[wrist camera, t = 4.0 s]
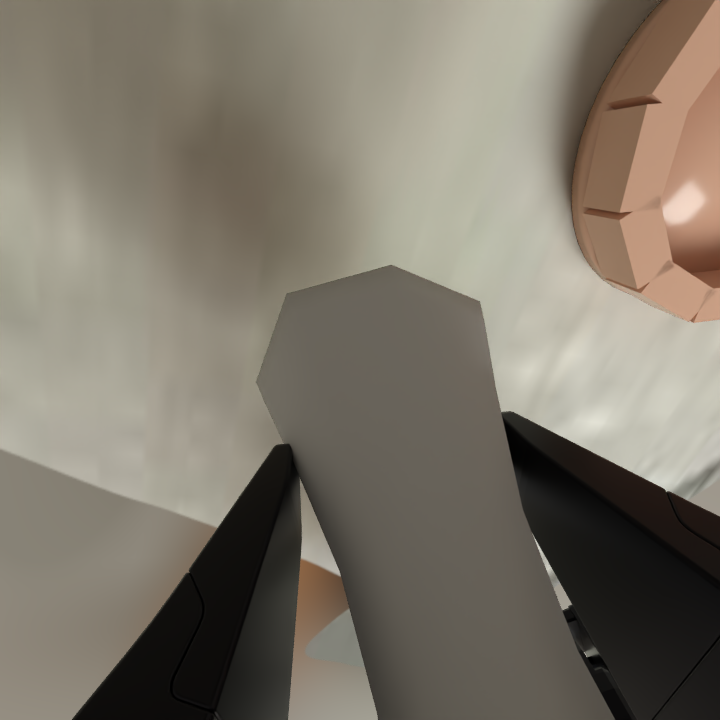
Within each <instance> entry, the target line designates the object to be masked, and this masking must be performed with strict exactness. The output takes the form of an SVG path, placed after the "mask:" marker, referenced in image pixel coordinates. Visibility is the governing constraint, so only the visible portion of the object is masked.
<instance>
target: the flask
mask: <svg viewBox="0 0 720 720" xmlns="http://www.w3.org/2000/svg"><path fill="white" fill-rule="evenodd" d="M256 383H257V385H258V387H259V390H260V392H261V394H262V397H263V399H264V401H265V404H266V406H267V408H268V410H269V412H270V414H271V417H272V419H273V421H274V423H275V425H276V427H277V430H278V432H279V434H280V436H281V438H282V440H283V443H284V444H286V443H288V444H290V446H291V448H292V456H293V462H294V464H295V467H296V469H297V471H298V474H299V477H300V479H301V481H302V483H303V486H304V488H305V490H306V493H307V495H308V497H309V500H310V502H311V504H312V507H313V509H314V512H315V514H316V516H317V519H318V521H319V523H320V526H321V528H322V530H323V533H324V535H325V538H326V540H327V542H328V545H329V547H330V549H331V552H332V554H333V556H334V559H335V561H336V564H337V566H338V568H339V571H340V574H341V578H342V581H343V585H344V589H345V593H346V597H347V601H348V604H349V608H350V612H351V616H352V620H353V623H354V627H355V631H356V635H357V639H358V642H359V646H360V650H361V654H362V658H363V661H364V665H365V669H366V672H367V676H368V680H369V684H370V688H371V692H372V695H373V699H374V703H375V707H376V711H377V715H378V720H615V718H614V717H613V715H612V713H611V711H610V709H609V707H608V706H607V704H606V702H605V700H604V698H603V696H602V694H601V693H600V691H599V689H598V687H597V685H596V683H595V682H594V680H593V678H592V676H591V674H590V672H589V670H588V669H587V667H586V665H585V663H584V661H583V659H582V657H581V656H580V654H579V652H578V650H577V647H576V645H575V642H574V640H573V637H572V634H571V632H570V629H569V627H568V624H567V622H566V619H565V617H564V614H563V611H562V609H561V606H560V604H559V601H558V599H557V596H556V594H555V591H554V588H553V586H552V583H551V581H550V578H549V576H548V573H547V570H546V568H545V565H544V563H543V560H542V558H541V555H540V553H539V550H538V547H537V545H536V542H535V540H534V537H533V535H532V532H531V529H530V527H529V524H528V522H527V519H526V517H525V514H524V512H523V508H522V504H521V499H520V495H519V490H518V486H517V481H516V477H515V472H514V468H513V463H512V459H511V454H510V450H509V445H508V441H507V437H506V432H505V428H504V423H503V419H502V414H501V410H500V405H499V401H498V396H497V392H496V387H495V381H494V375H493V369H492V364H491V358H490V352H489V346H488V340H487V334H486V329H485V323H484V318H483V314H482V309H481V305H480V301H477V300H475V299H473V298H470V297H468V296H465V295H463V294H460V293H458V292H456V291H453V290H451V289H448V288H446V287H444V286H441V285H439V284H436V283H434V282H432V281H429V280H427V279H424V278H422V277H419V276H417V275H415V274H412V273H410V272H407V271H405V270H403V269H400V268H398V267H395V266H393V265H389V266H385V267H382V268H378V269H374V270H371V271H367V272H364V273H360V274H356V275H353V276H349V277H346V278H342V279H338V280H335V281H331V282H328V283H324V284H320V285H317V286H313V287H309V288H306V289H302V290H299V291H295V292H291V293H288V294H286V297H285V300H284V303H283V305H282V308H281V311H280V314H279V317H278V320H277V323H276V326H275V329H274V331H273V334H272V337H271V340H270V343H269V346H268V349H267V352H266V355H265V357H264V360H263V363H262V366H261V369H260V372H259V375H258V378H257V381H256Z"/></svg>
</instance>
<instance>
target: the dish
mask: <svg viewBox="0 0 720 720" xmlns="http://www.w3.org/2000/svg"><path fill="white" fill-rule="evenodd" d="M572 214H573V224H574V228H575V232H576V236H577V240H578V243H579V246H580V248H581V250H582V253H583V255H584V257H585V259H586V260H587V262H588V263H589V265H590V266H591V268H592V269H593V270H594V271H595V272H596V273H597V274H598V275H599V276H600V278H601V279H603V280H604V281H606V282H607V283H608V284H610V285H611V286H613V287H615V288H617V289H619V290H621V291H623V292H625V293H628V294H630V295H633V296H634V297H636V298H638V299H640V300H641V301H643V302H645V303H646V304H648V305H650V306H652V307H654V308H657V309H659V310H662V311H664V312H666V313H669V314H671V315H674V316H676V317H678V318H681V319H683V320H686V321H688V322H689V321H691V322H693V323H695V322H703V321H711V320H719V319H720V0H662V1H661V2H660V4H659V5H658V6H657V7H656V8H655V9H654V10H653V11H652V12H651V13H650V15H649V16H648V17H647V18H646V20H645V21H644V22H643V23H642V24H641V26H640V27H639V28H638V29H637V31H636V32H635V33H634V34H633V36H632V37H631V39H630V40H629V42H628V43H627V45H626V46H625V48H624V49H623V51H622V52H621V53H620V55H619V56H618V58H617V59H616V61H615V63H614V65H613V66H612V68H611V70H610V72H609V74H608V75H607V77H606V79H605V81H604V83H603V84H602V86H601V88H600V91H599V93H598V95H597V97H596V100H595V102H594V104H593V106H592V108H591V111H590V113H589V116H588V119H587V122H586V125H585V128H584V130H583V133H582V136H581V140H580V144H579V148H578V152H577V156H576V160H575V167H574V174H573V181H572Z"/></svg>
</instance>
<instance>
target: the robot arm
mask: <svg viewBox="0 0 720 720" xmlns="http://www.w3.org/2000/svg"><path fill="white" fill-rule="evenodd" d="M501 414H502V419H503V423H504V428H505V432H506V437H507V441H508V445H509V450H510V454H511V459H512V463H513V468H514V472H515V477H516V481H517V486H518V490H519V495H520V499H521V504H522V508H523V512H524V514H525V517H526V519H527V522H528V524H529V527H530V529H531V532H532V533H533V535H534V537H535V539H536V541H537V542H538V544H539V546H540V548H541V550H542V551H543V553H544V555H545V557H546V558H547V560H548V562H549V564H550V566H551V567H552V569H553V571H554V573H555V574H556V576H557V578H558V580H559V582H560V583H561V585H562V587H563V589H564V591H565V592H566V594H567V596H568V598H569V599H570V601H571V603H572V605H570V606H568V607H569V608H567V609H565V610H562V611H563V614H564V617H565V619H566V622H567V624H568V627H569V629H570V632H571V634H572V637H573V640H574V642H575V645H576V647H577V650H578V652H579V654H580V656H581V657H582V659H583V661H584V663H585V665H586V667H587V669H588V670H589V672H590V674H591V676H592V678H593V680H594V682H595V683H596V685H597V687H598V689H599V691H600V693H601V694H602V696H603V698H604V700H605V702H606V704H607V706H608V707H609V709H610V711H611V713H612V715H613V717H614V718H615V720H720V516H717V515H716V514H714V513H712V512H710V511H707V510H705V509H703V508H701V507H699V506H697V505H695V504H693V503H691V502H689V501H687V500H685V499H683V498H681V497H679V496H678V495H676V494H674V493H672V492H669V491H667V492H666V491H665V489H664V488H662V487H660V486H658V485H656V484H654V483H652V482H650V481H648V480H646V479H644V478H642V477H640V476H638V475H636V474H634V473H632V472H630V471H628V470H626V469H624V468H622V467H620V466H618V465H616V464H614V463H612V462H610V461H608V460H607V459H605V458H603V457H601V456H599V455H597V454H595V453H593V452H591V451H589V450H587V449H585V448H583V447H581V446H579V445H577V444H575V443H573V442H571V441H569V440H567V439H565V438H563V437H561V436H559V435H557V434H555V433H553V432H551V431H549V430H548V429H546V428H544V427H542V426H540V425H538V424H536V423H534V422H532V421H530V420H528V419H526V418H524V417H522V416H520V415H518V414H516V413H514V412H511V411H507V412H501ZM301 542H302V525H301V501H300V477H299V474H298V471H297V469H296V467H295V464H294V462H293V456H292V448H291V446H290V444H288V443H286V444H279V445H276V446H275V447H274V448H273V449H272V451H271V452H270V453H269V455H268V456H267V458H266V459H265V461H264V462H263V463H262V465H261V466H260V468H259V469H258V471H257V472H256V474H255V475H254V476H253V478H252V479H251V481H250V482H249V484H248V485H247V486H246V488H245V489H244V491H243V492H242V494H241V495H240V497H239V498H238V499H237V501H236V502H235V504H234V505H233V507H232V508H231V509H230V511H229V512H228V514H227V515H226V517H225V518H224V520H223V521H222V522H221V524H220V525H219V527H218V528H217V530H216V531H215V533H214V534H213V535H212V537H211V538H210V540H209V541H208V543H207V544H206V546H205V547H204V548H203V550H202V551H201V553H200V554H199V556H198V557H197V558H196V560H195V561H194V563H193V564H192V566H191V567H190V568H189V572H190V573H186V574H185V575H184V577H183V578H182V580H181V581H180V583H179V584H178V585H177V587H176V588H175V590H174V591H173V593H172V594H171V595H170V597H169V598H168V600H167V601H166V602H165V604H164V605H163V606H162V608H161V609H160V610H159V612H158V613H157V614H156V616H155V617H154V619H153V620H152V621H151V623H150V624H149V625H148V626H147V628H146V629H145V630H144V631H143V633H142V634H141V635H140V636H139V638H138V639H137V641H135V643H134V644H133V645H132V647H131V648H130V649H129V650H128V652H127V653H126V654H125V655H124V657H123V658H122V659H121V660H120V661H119V663H118V664H117V665H116V666H115V667H114V669H113V670H112V671H111V672H110V674H109V675H108V676H107V677H106V679H105V680H104V681H103V682H102V683H101V685H100V686H99V687H98V688H97V689H96V691H95V692H94V693H93V694H92V696H91V697H90V698H89V699H88V700H87V702H86V703H85V704H84V705H83V706H82V708H81V709H80V710H79V711H78V713H77V714H76V715H75V716H74V718H73V719H72V720H288V711H289V699H290V686H291V673H292V661H293V648H294V635H295V621H296V609H297V596H298V583H299V571H300V558H301ZM584 652H585V653H586V655H587V657H586V655H585V654H584Z"/></svg>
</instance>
